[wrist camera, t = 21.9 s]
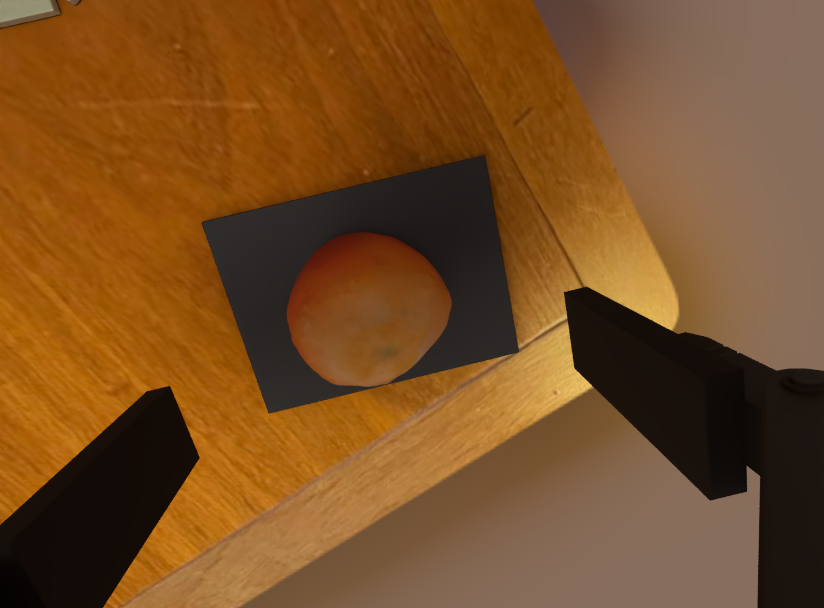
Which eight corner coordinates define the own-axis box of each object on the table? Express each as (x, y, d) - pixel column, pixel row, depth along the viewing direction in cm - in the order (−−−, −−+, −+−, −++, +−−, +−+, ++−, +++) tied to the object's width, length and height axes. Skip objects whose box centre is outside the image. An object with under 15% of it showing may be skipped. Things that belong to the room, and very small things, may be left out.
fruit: (379, 165, 23) (434, 256, 18) (431, 265, 29) (485, 356, 24) (245, 243, 24) (259, 355, 18) (322, 325, 30) (350, 429, 24)
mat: (482, 155, 26) (485, 155, 25) (516, 349, 29) (519, 352, 28) (204, 221, 25) (200, 222, 25) (270, 410, 29) (268, 414, 28)
